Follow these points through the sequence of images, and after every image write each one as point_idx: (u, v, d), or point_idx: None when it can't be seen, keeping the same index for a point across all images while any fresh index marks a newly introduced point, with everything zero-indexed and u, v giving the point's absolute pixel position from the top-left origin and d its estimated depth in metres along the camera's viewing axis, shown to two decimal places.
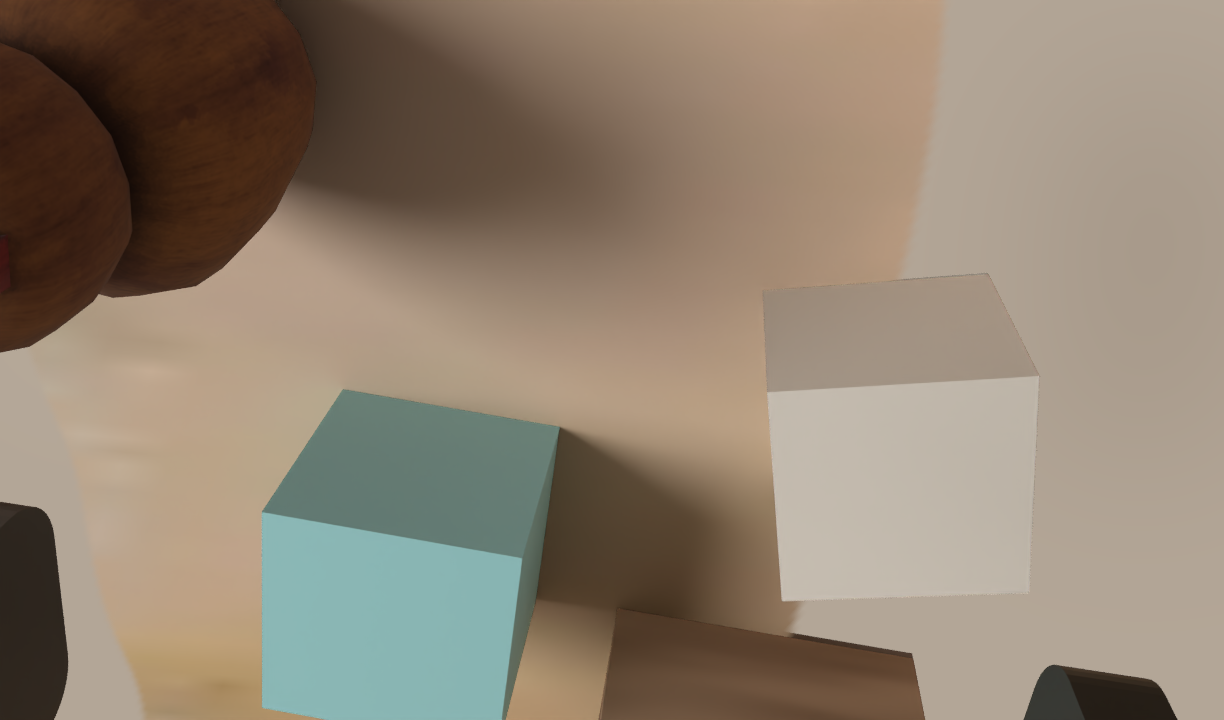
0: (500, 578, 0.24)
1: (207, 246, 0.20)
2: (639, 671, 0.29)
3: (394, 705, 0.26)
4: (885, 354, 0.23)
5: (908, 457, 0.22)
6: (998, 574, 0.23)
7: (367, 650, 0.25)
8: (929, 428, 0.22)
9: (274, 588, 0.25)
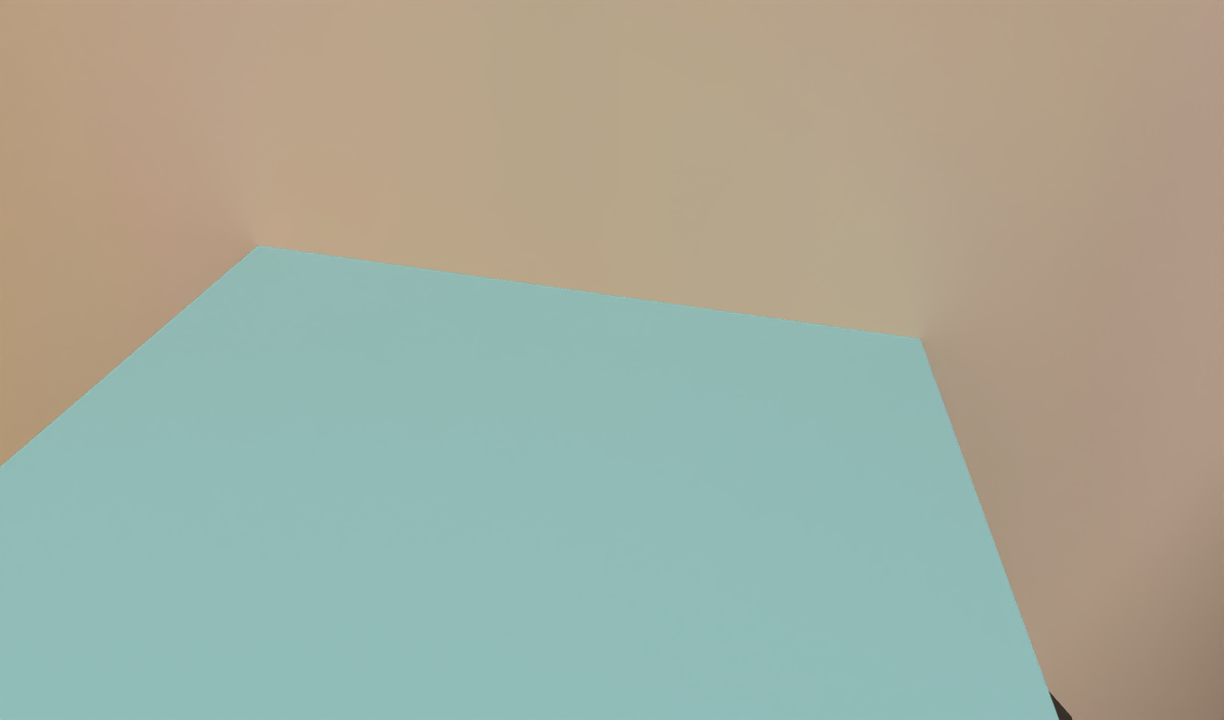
0: None
1: None
2: None
3: None
4: None
5: None
6: None
7: None
8: None
9: None
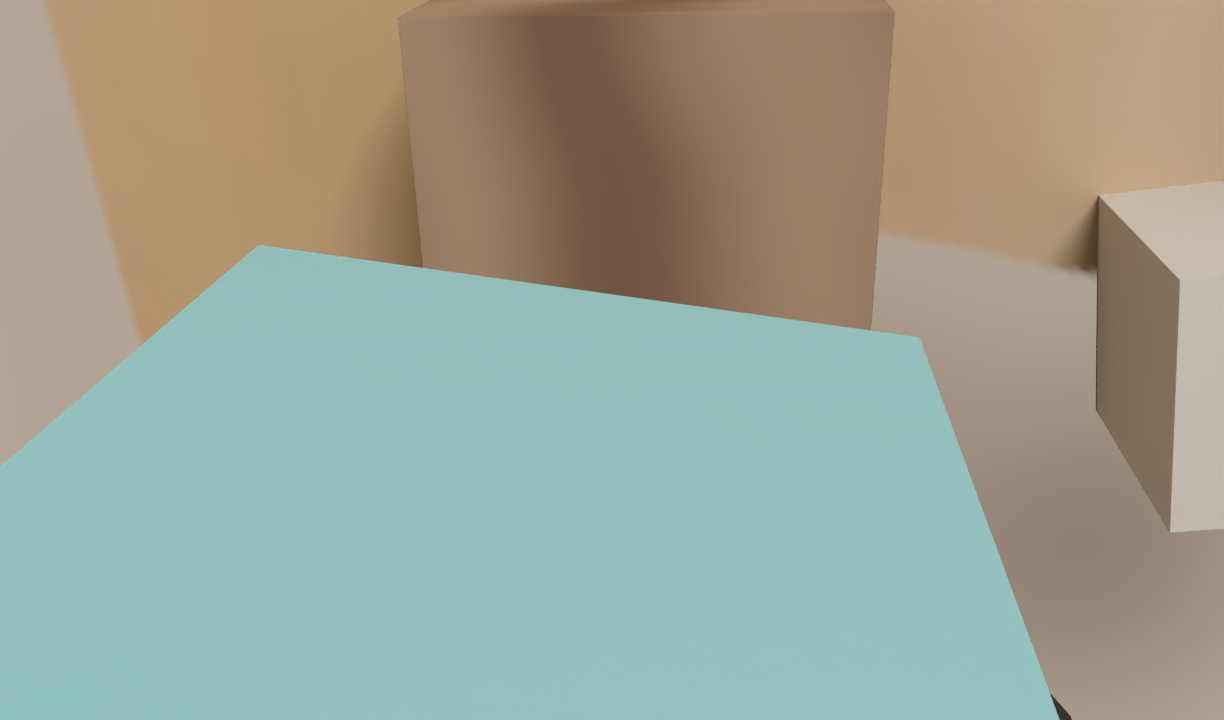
0: None
1: None
2: None
3: None
4: None
5: None
6: (1199, 501, 0.21)
7: None
8: None
9: None
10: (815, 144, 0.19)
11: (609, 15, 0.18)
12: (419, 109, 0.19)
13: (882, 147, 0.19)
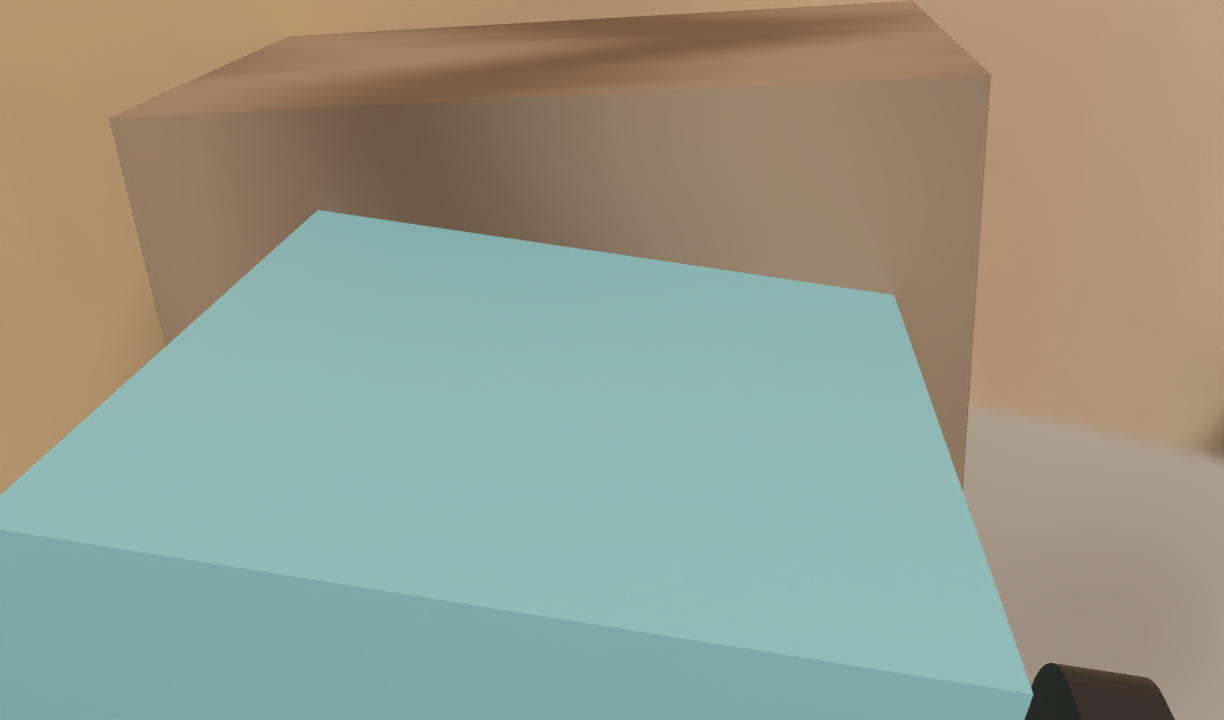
0: None
1: None
2: None
3: None
4: None
5: None
6: None
7: None
8: None
9: (641, 677, 0.06)
10: None
11: (475, 100, 0.10)
12: (168, 269, 0.11)
13: (971, 308, 0.11)
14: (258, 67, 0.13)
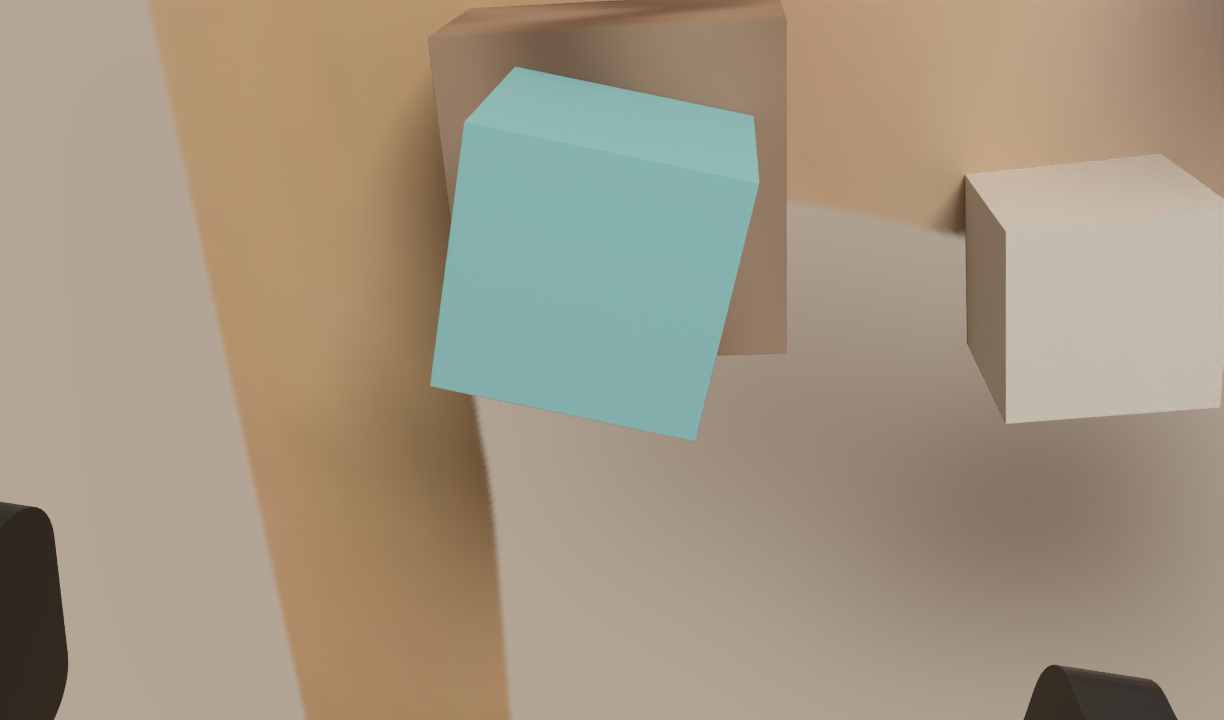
0: (669, 418, 0.23)
1: None
2: None
3: (486, 284, 0.22)
4: None
5: (1154, 322, 0.27)
6: (1026, 400, 0.28)
7: (564, 267, 0.22)
8: (1181, 335, 0.27)
9: (651, 176, 0.21)
10: None
11: (581, 29, 0.25)
12: (445, 104, 0.26)
13: (784, 117, 0.26)
14: (471, 20, 0.28)
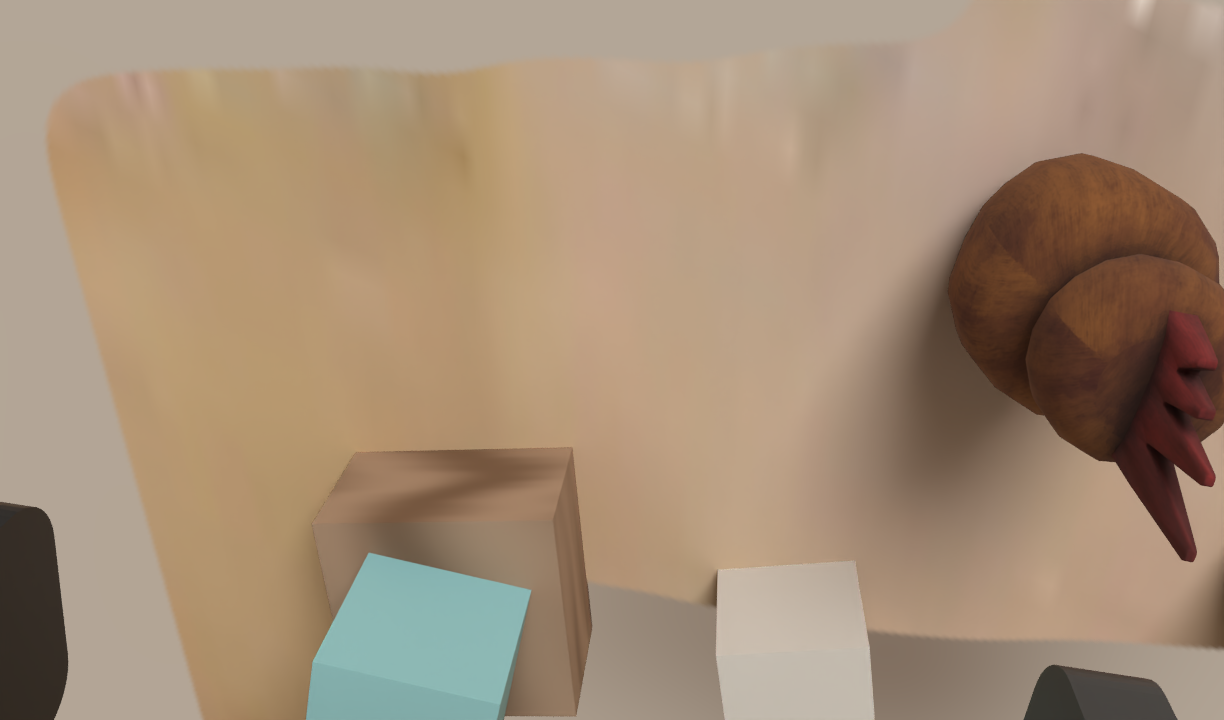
0: None
1: (1020, 401, 0.31)
2: (565, 499, 0.39)
3: None
4: None
5: (825, 712, 0.38)
6: None
7: None
8: None
9: (432, 697, 0.33)
10: (525, 575, 0.37)
11: (415, 522, 0.37)
12: (326, 562, 0.38)
13: (558, 576, 0.37)
14: (349, 485, 0.40)
